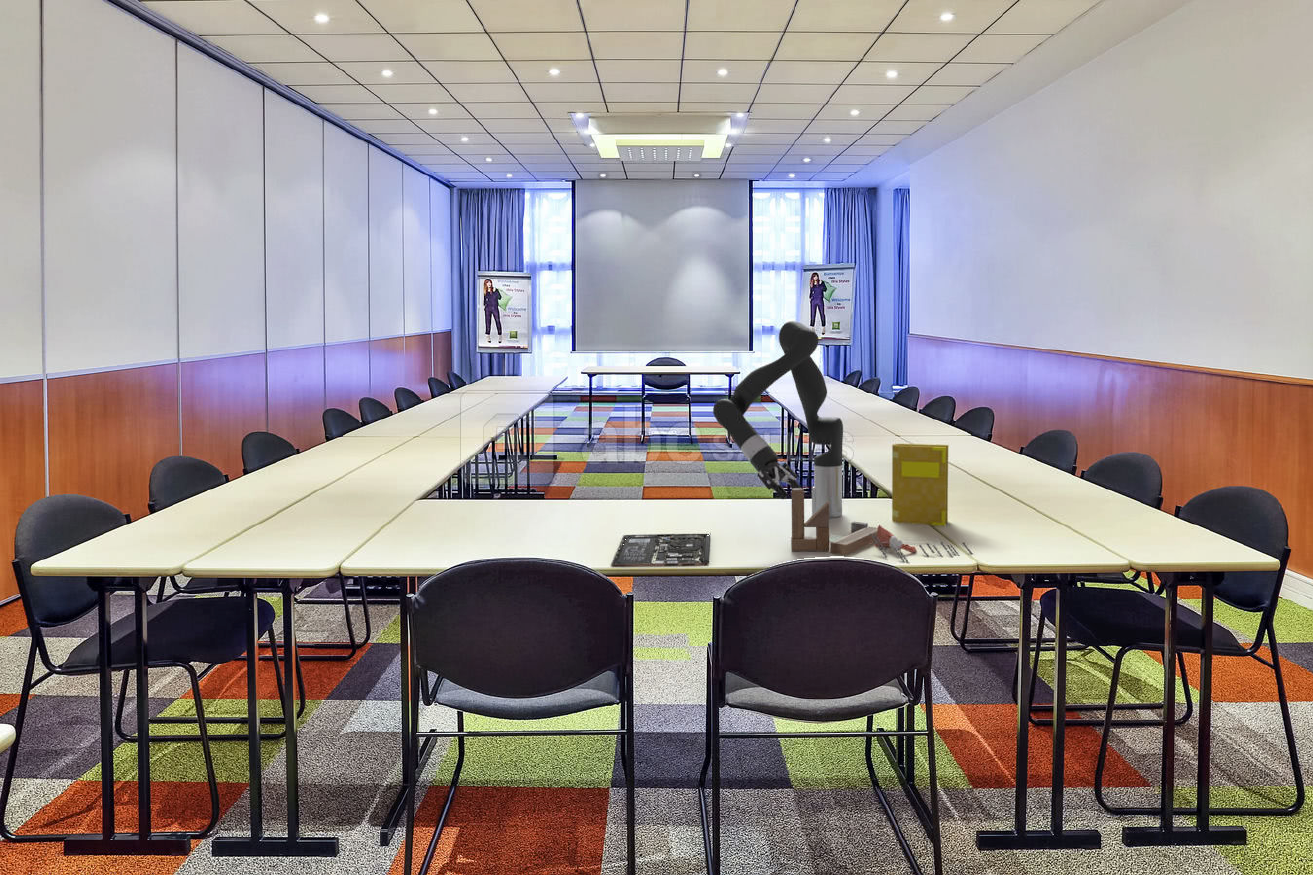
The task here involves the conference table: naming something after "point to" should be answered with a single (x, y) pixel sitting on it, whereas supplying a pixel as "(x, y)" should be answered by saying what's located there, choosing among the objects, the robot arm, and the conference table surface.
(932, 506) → the book
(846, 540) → the walnut rail
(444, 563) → the conference table surface
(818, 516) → the wooden block
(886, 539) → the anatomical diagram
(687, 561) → the laptop interior
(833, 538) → the end pad
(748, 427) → the robot arm
